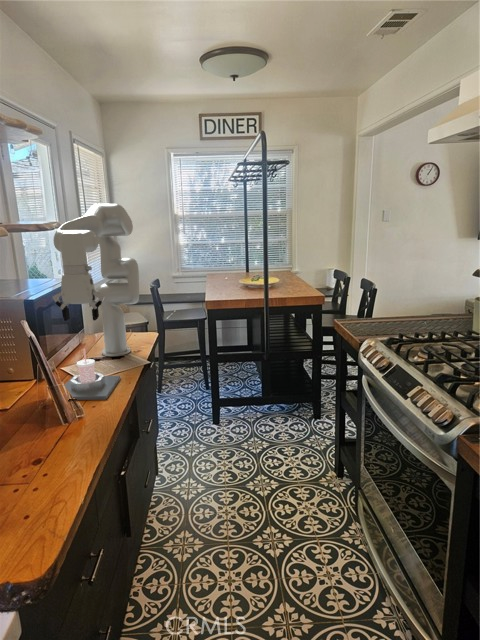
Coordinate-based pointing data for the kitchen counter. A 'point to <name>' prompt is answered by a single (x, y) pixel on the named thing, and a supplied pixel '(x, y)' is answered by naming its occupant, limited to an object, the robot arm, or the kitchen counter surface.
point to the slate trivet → (96, 394)
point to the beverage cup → (86, 369)
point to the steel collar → (87, 383)
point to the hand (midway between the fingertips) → (81, 319)
